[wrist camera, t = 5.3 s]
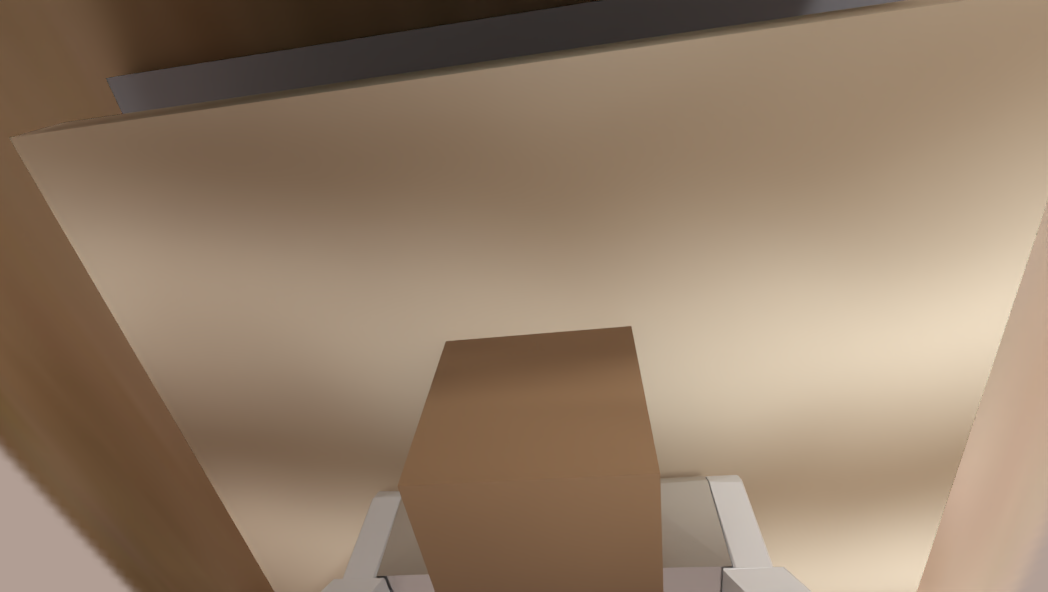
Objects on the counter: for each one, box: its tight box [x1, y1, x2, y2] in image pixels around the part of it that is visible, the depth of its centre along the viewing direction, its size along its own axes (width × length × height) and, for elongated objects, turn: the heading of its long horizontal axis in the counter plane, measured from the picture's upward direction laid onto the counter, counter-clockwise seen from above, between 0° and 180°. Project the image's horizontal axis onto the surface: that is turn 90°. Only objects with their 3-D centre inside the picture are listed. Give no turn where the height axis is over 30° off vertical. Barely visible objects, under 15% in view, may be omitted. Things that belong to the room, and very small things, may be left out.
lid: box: [9, 0, 1048, 592], centre depth 9 cm, size 14×14×4 cm
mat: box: [106, 0, 905, 114], centre depth 14 cm, size 16×16×1 cm
